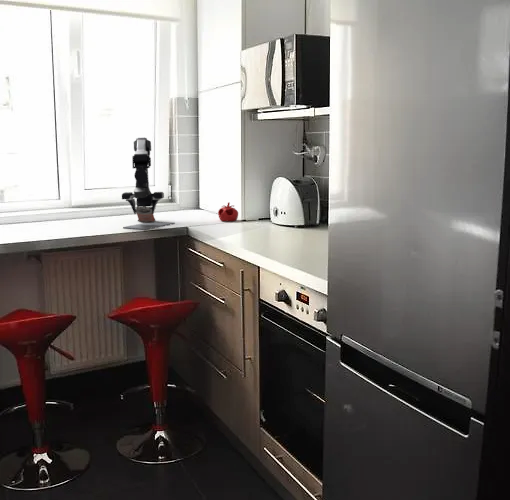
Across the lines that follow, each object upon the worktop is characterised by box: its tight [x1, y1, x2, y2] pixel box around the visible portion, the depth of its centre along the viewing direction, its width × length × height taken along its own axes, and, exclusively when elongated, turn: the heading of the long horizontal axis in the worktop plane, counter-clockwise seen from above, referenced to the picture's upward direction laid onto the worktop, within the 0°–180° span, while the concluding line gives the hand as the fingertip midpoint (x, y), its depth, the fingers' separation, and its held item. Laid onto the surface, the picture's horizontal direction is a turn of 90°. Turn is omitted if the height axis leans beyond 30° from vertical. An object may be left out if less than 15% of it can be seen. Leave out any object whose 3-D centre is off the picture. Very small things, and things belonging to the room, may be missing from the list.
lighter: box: [135, 206, 156, 224], centre depth 281 cm, size 8×3×10 cm
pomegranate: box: [217, 202, 239, 222], centre depth 297 cm, size 10×10×9 cm
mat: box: [122, 220, 176, 231], centre depth 285 cm, size 13×22×1 cm, turn 148°
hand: (143, 214), depth 279 cm, fingers closed on lighter, 8 cm apart
